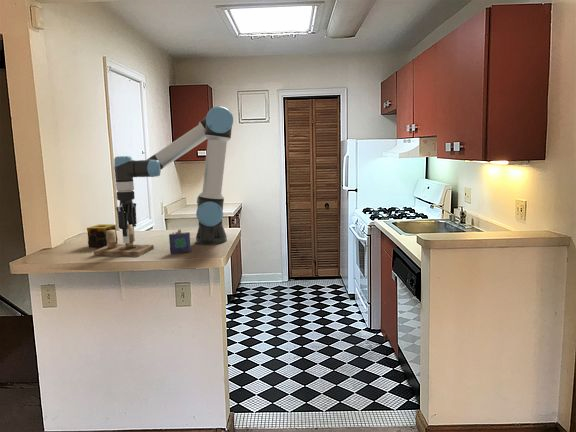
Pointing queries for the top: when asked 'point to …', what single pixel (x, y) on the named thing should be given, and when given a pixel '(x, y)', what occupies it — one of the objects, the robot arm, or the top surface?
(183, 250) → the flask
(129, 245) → the oak leg
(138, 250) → the seat board
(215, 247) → the top surface
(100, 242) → the black and yellow cube
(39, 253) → the top surface
